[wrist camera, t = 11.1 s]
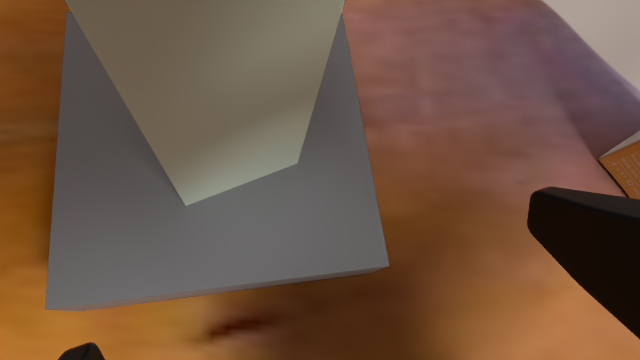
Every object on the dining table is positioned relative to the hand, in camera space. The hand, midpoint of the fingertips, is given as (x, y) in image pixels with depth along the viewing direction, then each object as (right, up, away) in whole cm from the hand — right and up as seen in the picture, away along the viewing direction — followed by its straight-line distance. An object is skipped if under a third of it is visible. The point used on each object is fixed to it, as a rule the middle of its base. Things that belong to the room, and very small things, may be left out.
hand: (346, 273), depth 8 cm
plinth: (-5, +3, +12) cm, 14 cm away
